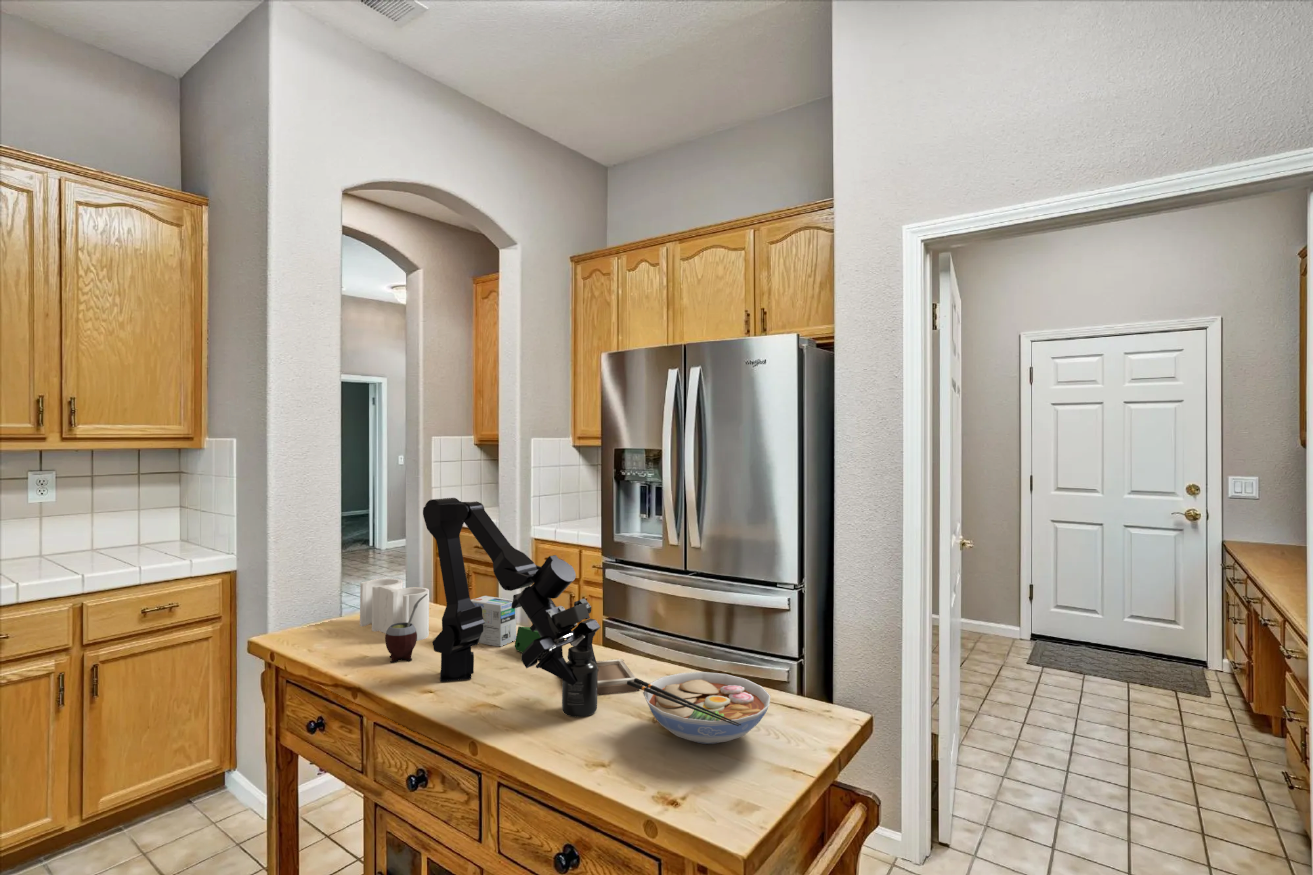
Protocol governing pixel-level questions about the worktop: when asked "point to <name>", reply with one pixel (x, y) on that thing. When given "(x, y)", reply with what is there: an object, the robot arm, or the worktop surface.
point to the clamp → (525, 638)
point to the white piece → (393, 605)
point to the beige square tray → (614, 677)
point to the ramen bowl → (705, 705)
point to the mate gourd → (402, 639)
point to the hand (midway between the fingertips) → (586, 678)
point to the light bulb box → (497, 620)
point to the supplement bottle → (581, 683)
